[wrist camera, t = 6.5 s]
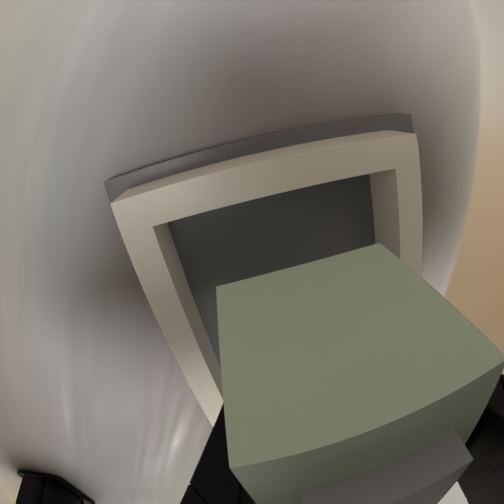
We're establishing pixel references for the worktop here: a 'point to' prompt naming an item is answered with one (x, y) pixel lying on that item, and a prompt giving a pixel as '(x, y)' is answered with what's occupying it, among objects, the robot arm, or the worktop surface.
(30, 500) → the robot arm
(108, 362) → the worktop surface
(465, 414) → the pale green block
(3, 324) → the worktop surface
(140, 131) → the worktop surface
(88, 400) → the worktop surface
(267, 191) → the chassis
